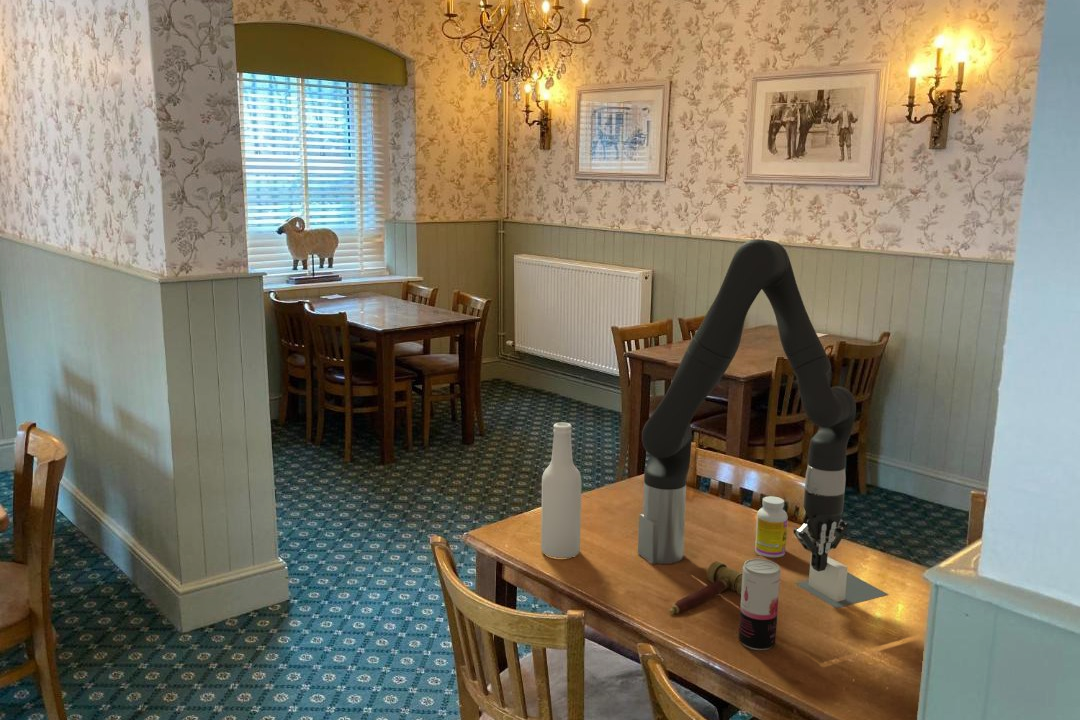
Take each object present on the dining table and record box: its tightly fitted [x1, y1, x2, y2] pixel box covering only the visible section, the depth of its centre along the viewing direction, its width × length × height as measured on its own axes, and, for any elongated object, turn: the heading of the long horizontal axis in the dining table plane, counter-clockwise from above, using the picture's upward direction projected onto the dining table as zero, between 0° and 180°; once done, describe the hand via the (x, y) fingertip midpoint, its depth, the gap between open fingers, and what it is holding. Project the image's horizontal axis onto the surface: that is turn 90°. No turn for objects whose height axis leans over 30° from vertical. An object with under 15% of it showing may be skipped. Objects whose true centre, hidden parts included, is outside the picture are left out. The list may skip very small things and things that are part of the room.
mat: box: [794, 571, 890, 609], centre depth 183 cm, size 14×12×1 cm
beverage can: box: [738, 558, 781, 651], centre depth 161 cm, size 7×7×15 cm
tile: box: [808, 553, 848, 602], centre depth 180 cm, size 2×8×7 cm, turn 26°
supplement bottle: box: [754, 495, 789, 558], centre depth 199 cm, size 7×7×13 cm
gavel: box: [668, 560, 743, 615], centre depth 178 cm, size 21×5×10 cm
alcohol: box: [540, 421, 582, 558], centre depth 197 cm, size 9×9×30 cm
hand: (818, 569), depth 178 cm, fingers closed
